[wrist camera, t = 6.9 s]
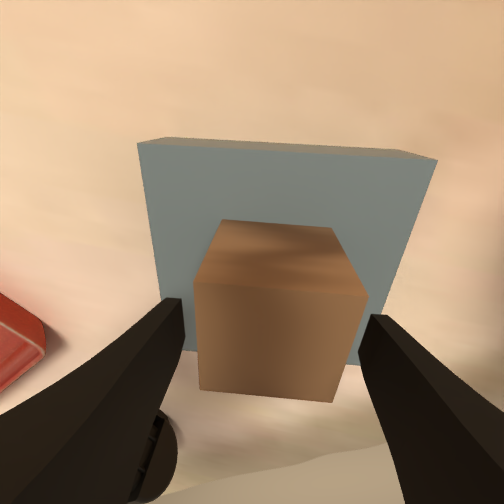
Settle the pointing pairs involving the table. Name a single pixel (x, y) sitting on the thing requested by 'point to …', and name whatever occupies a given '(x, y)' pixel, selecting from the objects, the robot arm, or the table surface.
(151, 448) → the end cap
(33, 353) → the plant saucer
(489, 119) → the table surface
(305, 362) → the walnut cube
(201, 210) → the slate-blue block
